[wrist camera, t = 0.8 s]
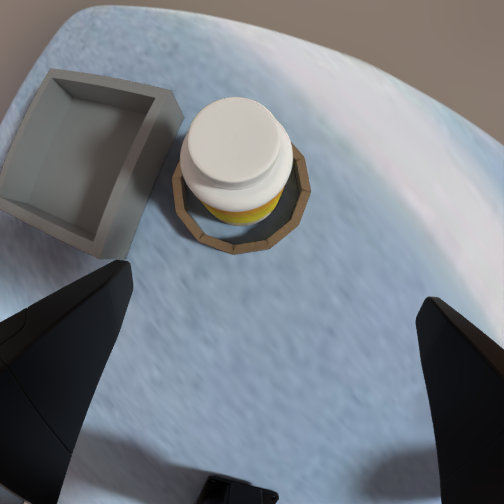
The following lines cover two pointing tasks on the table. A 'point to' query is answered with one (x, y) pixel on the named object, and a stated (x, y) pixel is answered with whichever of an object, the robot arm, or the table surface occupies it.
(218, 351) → the table surface
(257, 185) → the supplement bottle
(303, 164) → the stud collar
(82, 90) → the bin
